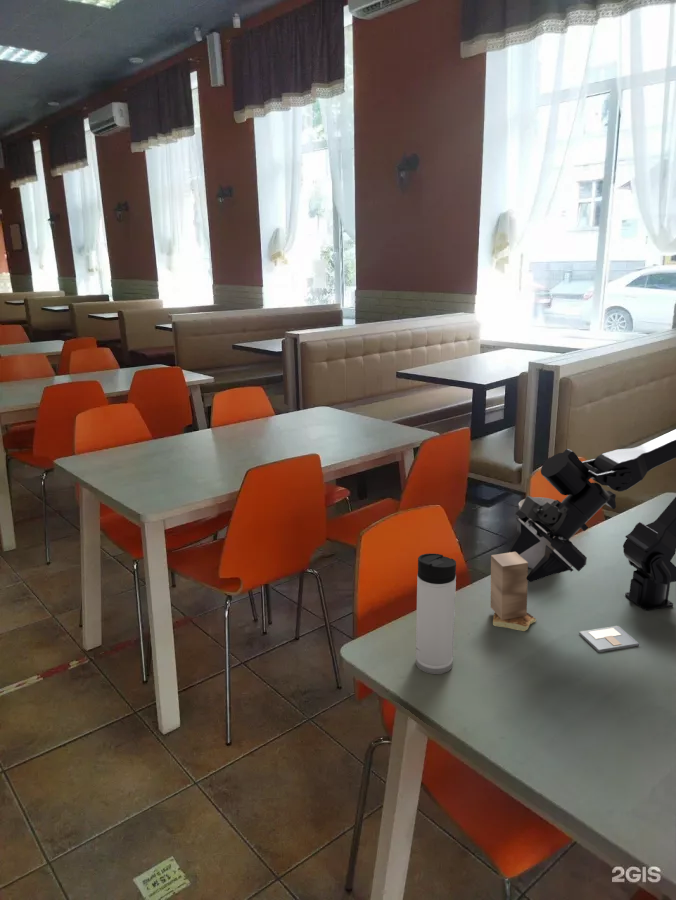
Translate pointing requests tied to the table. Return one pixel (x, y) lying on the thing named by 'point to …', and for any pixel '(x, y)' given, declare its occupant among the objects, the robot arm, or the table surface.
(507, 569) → the walnut block
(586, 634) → the card
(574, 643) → the table surface
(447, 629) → the travel mug
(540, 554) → the pillar candle
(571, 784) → the table surface
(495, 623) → the shard
